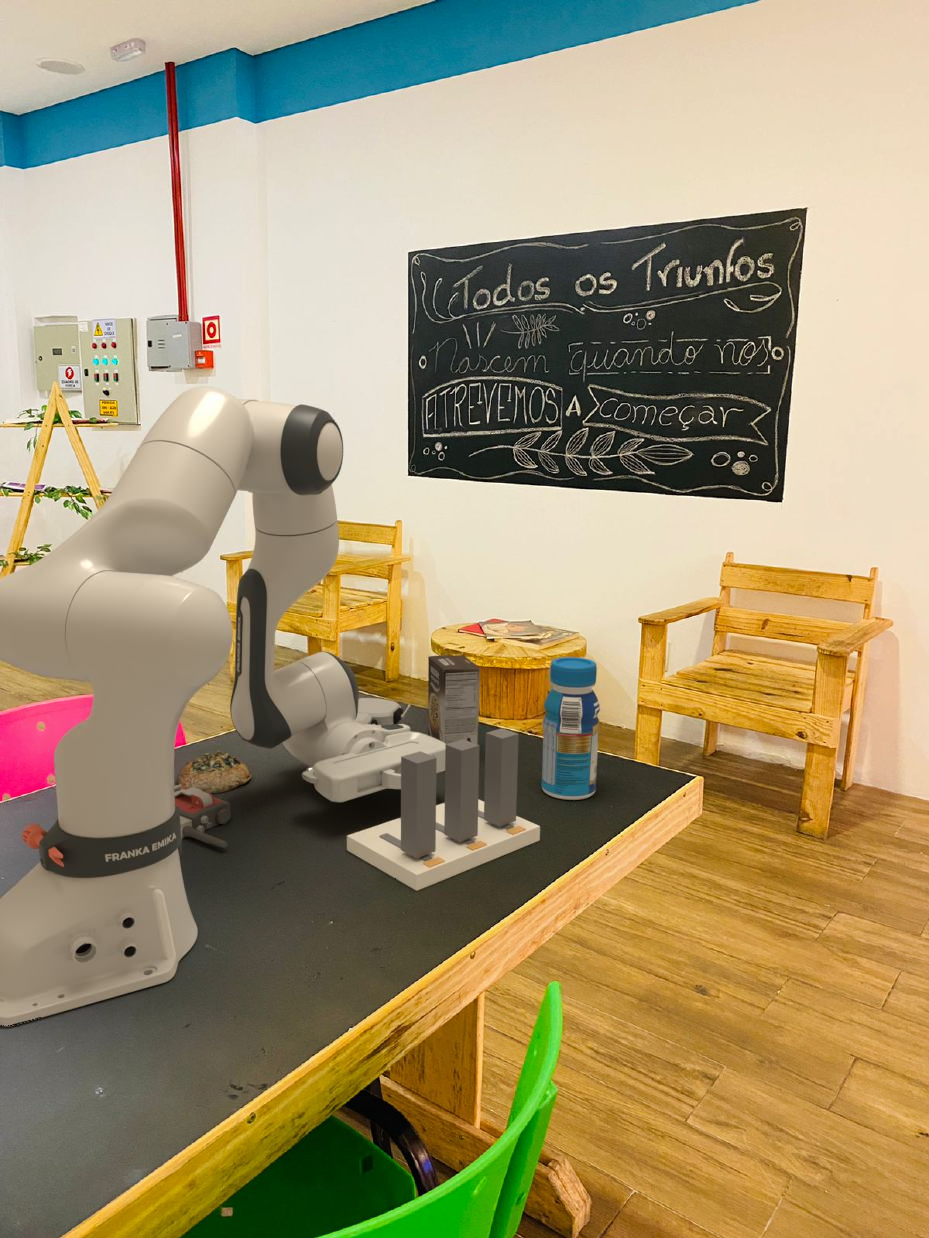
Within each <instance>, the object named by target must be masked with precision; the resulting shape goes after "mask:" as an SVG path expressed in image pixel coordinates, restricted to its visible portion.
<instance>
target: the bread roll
mask: <svg viewBox="0 0 929 1238" xmlns="http://www.w3.org/2000/svg"><path fill="white" fill-rule="evenodd" d="M252 777H253V776H252V774H251V773H250V770H249V769H248V767H247V765H246V764H245V763H243V762H242V761H241V760H240V759H239V758H237V757H235V756H231V755H230V754H229V752H224V753H222V752H221V750H216V752H214V753H208V752H207V753H205V754H204V755H203V756H201V757H198V758H196V759H193V760H191V761H188V762H186V763H185V764H184V766H183V767H182V768H181V770H180V771H179V773H178V775H177V780H176V781H177V785H180V784H181V785H182V786H185V787H187V788H192V787H195V788H198V789H201V790H202V791H206V792H209V793H211V794H217V793H218V794H219V793H224V792H228V791H231V790H233V789H236V788H237V787H239V786H242V785H245V784H247V783H248V781H249V780H250V779H252Z"/></svg>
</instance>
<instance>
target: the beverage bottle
mask: <svg viewBox="0 0 929 1238" xmlns="http://www.w3.org/2000/svg"><path fill="white" fill-rule="evenodd" d="M549 670H550V671H549V673H550V674H549V677H550V678H549V681H550V683H551V685H552V686H553V687H552V688H551V689H550V691H549V692H548V694H547V696H546V698H545V701H544V705H543V706H544V711H545V714H544V716H543V719H542V729H543V733H542V735H543V738H542V771H541V775H542V776H541V789H542V791H543V792H544V793H545V794H547V795H548V796H551V797H552V798H555V799H561V800H566V801H567V800H569V801H571V800H572V801H577V800H578V801H579V800H584V799H587V798H589V797H591V796H593V795H594V794H595V792H596V791H597V767H598V751H599V750H598V749H599V735H600V734H599V732H600V730H601V722H600V719H599V718H598V715H599V712H600V710H601V706H600V702H599V699H598V697H597V695H596V693H595V690H593V688H594V687H595V686H596V683H597V675H598V673H597V670H598V667H597V663H596V661H593V660H591V659H589V658H584V657H572V656H567V657H566V656H565V657H558V658H554V659H553V660H551V663H550V669H549Z"/></svg>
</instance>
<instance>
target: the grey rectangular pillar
mask: <svg viewBox="0 0 929 1238" xmlns="http://www.w3.org/2000/svg"><path fill="white" fill-rule="evenodd" d="M480 747H481V745H480V744H478V745H477V744H474V743H472V742H469V741H466V740H464V739H463V740H459V741H456V742H452V743H449V744H445V771H444V803H445V816H444V835H446V836H449V837H451V838H453V839H455V840H457V841H459V842H462V841H465V840H467V839H470V838H473V837H475V836H478V799H479V792H480V791H479V789H480V787H479V786H480V785H479V783H480V782H479V781H480V780H479V779H480Z"/></svg>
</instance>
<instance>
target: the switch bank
mask: <svg viewBox="0 0 929 1238" xmlns="http://www.w3.org/2000/svg"><path fill="white" fill-rule="evenodd" d="M444 816H445V802H442V803H440V804H436V849H435V852H432V853H430V854H427V855H425V856H422V857H419V858H417V859H416V858H414V857H413V856H411V855H409V854H407V853H405V852H403V851H402V850H401V817H398V818H396V819H392V820H389V821H386V822H383V823H381V824H378V825H375V826H372V827H369V828H365V829H362V830H360V831H356V832H353V833H351V834H348V835H346V851H348V852H349V853H351V854H353V855H354V856H356V857H358V858H359V859H361V860H362V861H364V862H367V863H368V864H369V865H371V866H373V867H375V868H377V869H379V870H380V871H382V872H383V873H385V874H387V875H389V876H390V877H392V878H393V879H395V878H396V879H395V880H397V881H399V882H401V883H402V884H404V885H406V886H408V887H409V888H411V889H413V890H415V891H420V890H422V889H425V888H427V887H430V886H432V885H434V884H437V883H439V882H442V881H444V880H447V879H449V878H451V877H453V876H456V875H458V874H461V873H464V872H466V871H468V870H471V869H474V868H476V867H478V866H480V865H483V864H486V863H488V862H491V861H493V860H495V859H498V858H500V857H502V856H504V855H507V854H510V853H512V852H514V851H517V850H520V849H522V848H525V847H526V846H529V845H532V844H534V843H536V842H539V841H540V837H541V825H538V824H536V823H534V822H531V821H529V820H527V819H525V818H522V817H520V816H518V815H516V821H514V822H511V823H509V824H506V825H503V826H501V827H499V826H497V825H495V824H492V823H490V822H488V821H486V820H484V801H483V800H481V799H479V798H478V836H475V837H473V838H470V839H467V840H465V841H462V842H459V841H457V840H455V839H453V838H451V837H449V836H446V835H444Z"/></svg>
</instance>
